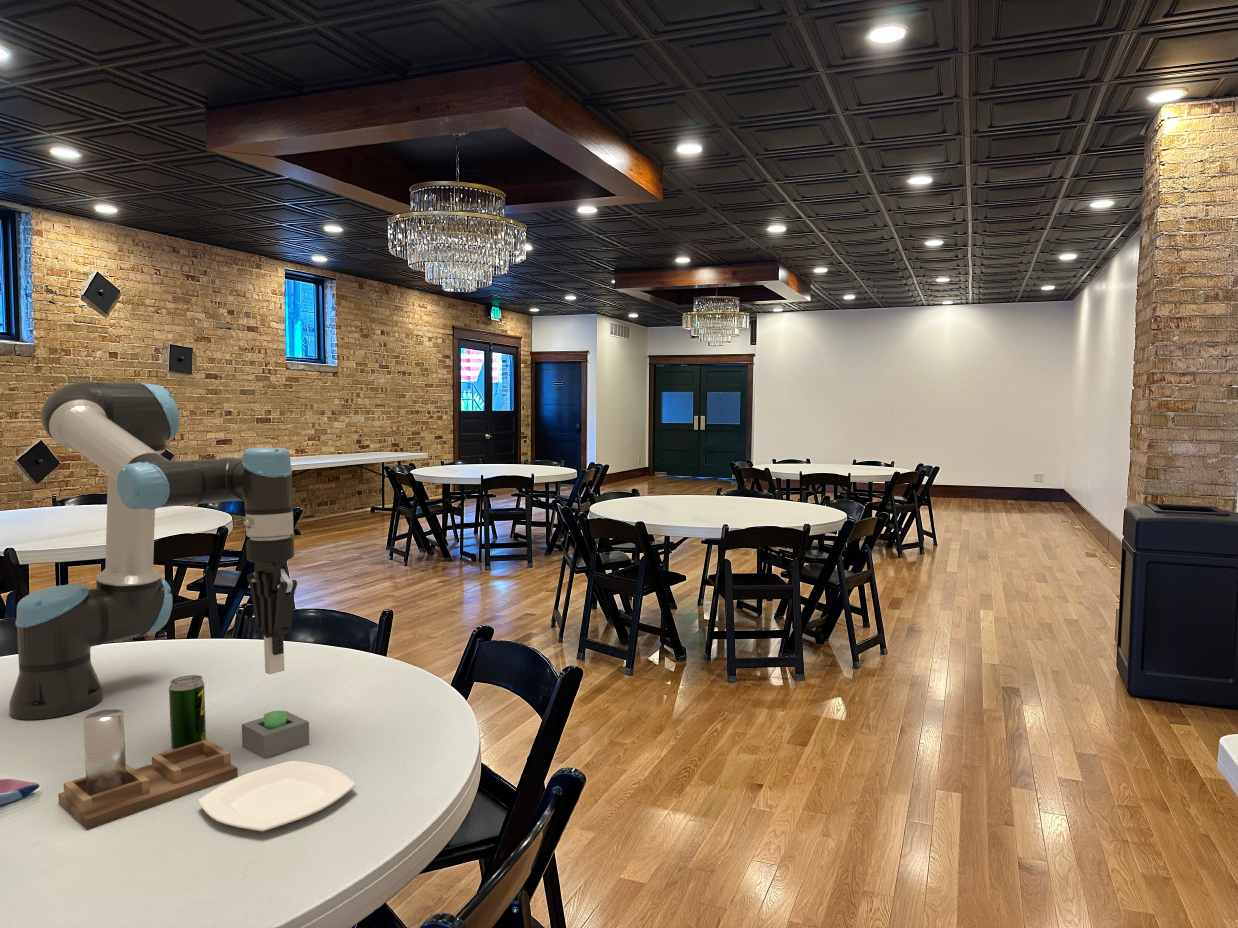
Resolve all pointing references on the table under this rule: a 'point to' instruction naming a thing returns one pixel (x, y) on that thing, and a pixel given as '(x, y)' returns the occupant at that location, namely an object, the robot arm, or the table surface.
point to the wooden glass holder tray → (150, 784)
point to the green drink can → (187, 711)
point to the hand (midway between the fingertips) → (274, 671)
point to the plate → (276, 795)
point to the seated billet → (104, 750)
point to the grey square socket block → (275, 736)
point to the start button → (274, 719)
